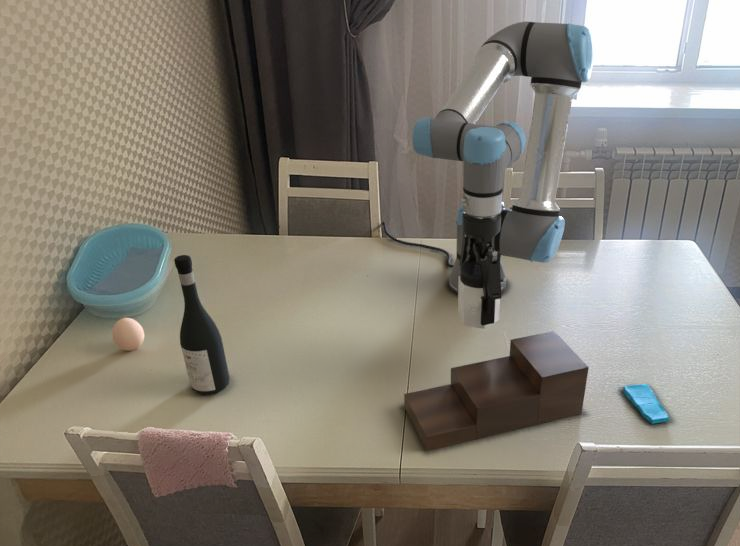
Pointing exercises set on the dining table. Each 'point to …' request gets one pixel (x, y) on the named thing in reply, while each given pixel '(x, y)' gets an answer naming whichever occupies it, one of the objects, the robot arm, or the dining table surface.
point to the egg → (128, 334)
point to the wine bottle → (200, 338)
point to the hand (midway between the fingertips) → (478, 312)
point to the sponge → (646, 402)
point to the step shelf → (502, 393)
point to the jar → (472, 295)
